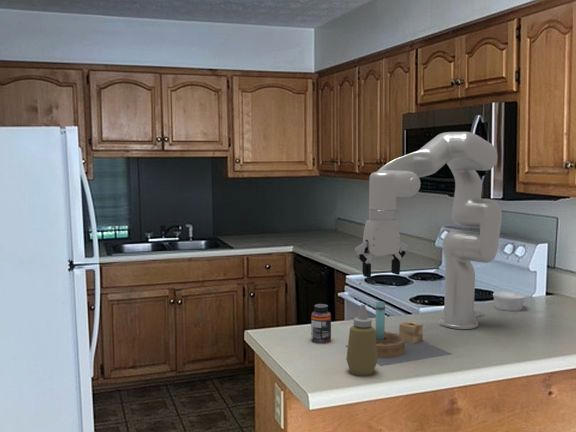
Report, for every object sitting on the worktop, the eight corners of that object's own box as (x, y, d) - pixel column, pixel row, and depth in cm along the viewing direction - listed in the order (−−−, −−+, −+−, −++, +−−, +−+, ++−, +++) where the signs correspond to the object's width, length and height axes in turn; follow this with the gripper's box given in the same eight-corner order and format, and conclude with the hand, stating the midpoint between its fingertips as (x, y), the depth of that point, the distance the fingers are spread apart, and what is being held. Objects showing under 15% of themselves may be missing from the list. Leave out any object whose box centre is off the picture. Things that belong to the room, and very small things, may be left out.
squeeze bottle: (355, 380, 156) (357, 310, 154) (340, 370, 164) (341, 303, 162) (383, 375, 159) (384, 307, 158) (367, 365, 167) (368, 300, 165)
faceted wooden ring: (385, 340, 188) (386, 329, 188) (413, 353, 176) (414, 341, 175) (345, 346, 182) (346, 334, 182) (371, 360, 170) (372, 348, 169)
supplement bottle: (320, 337, 192) (320, 301, 191) (335, 341, 188) (335, 305, 187) (307, 341, 188) (307, 305, 187) (321, 346, 184) (322, 308, 183)
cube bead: (408, 336, 192) (408, 320, 192) (422, 340, 189) (422, 324, 188) (399, 340, 189) (399, 323, 188) (413, 343, 185) (413, 327, 185)
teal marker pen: (380, 348, 181) (381, 301, 179) (386, 350, 178) (387, 303, 177) (372, 349, 180) (373, 301, 178) (378, 352, 177) (379, 304, 176)
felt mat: (411, 337, 193) (411, 336, 193) (452, 355, 176) (452, 353, 176) (345, 347, 183) (345, 345, 183) (381, 367, 166) (381, 365, 166)
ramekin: (530, 311, 226) (531, 297, 226) (503, 313, 223) (504, 298, 223) (513, 304, 237) (513, 290, 236) (486, 305, 234) (487, 291, 234)
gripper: (399, 213, 182) (398, 270, 184) (349, 215, 175) (348, 275, 177) (415, 215, 176) (414, 275, 177) (363, 218, 168) (362, 280, 170)
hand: (381, 275), depth 177 cm, fingers open, 9 cm apart
